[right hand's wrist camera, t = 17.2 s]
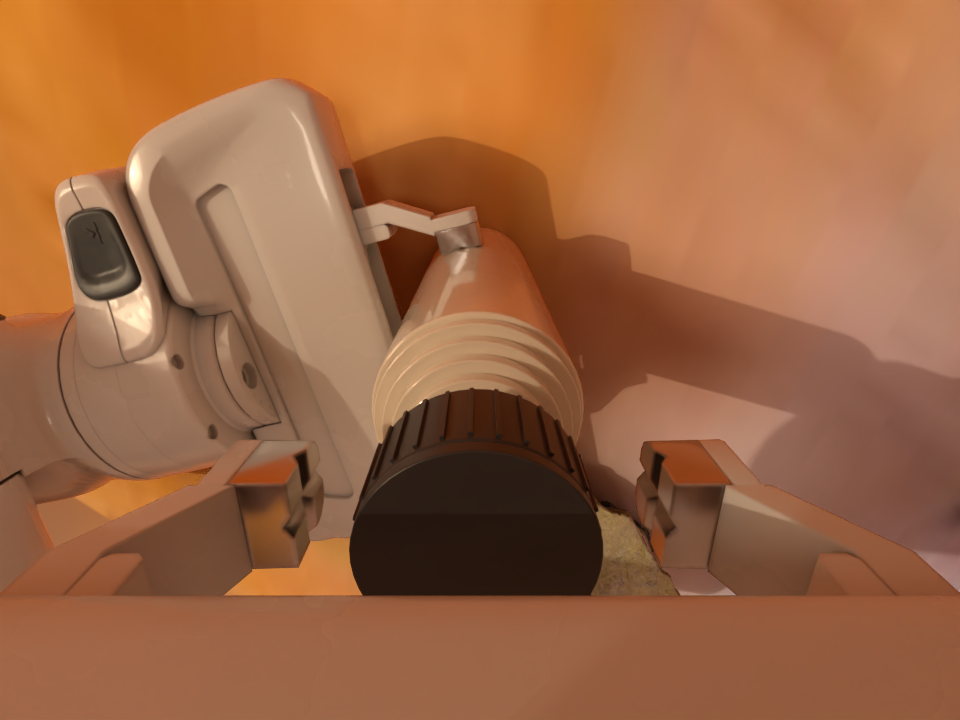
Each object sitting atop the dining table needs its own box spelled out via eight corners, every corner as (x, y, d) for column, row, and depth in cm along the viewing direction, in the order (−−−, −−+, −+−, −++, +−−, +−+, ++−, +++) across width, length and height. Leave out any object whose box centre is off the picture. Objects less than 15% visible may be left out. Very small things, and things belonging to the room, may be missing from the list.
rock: (510, 450, 33) (502, 588, 35) (521, 498, 26) (511, 661, 29) (675, 455, 33) (657, 590, 35) (724, 503, 27) (698, 663, 29)
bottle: (446, 212, 26) (360, 349, 7) (543, 246, 27) (693, 453, 8) (417, 307, 28) (289, 612, 9) (508, 337, 29) (563, 679, 10)
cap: (358, 541, 11) (330, 632, 9) (390, 363, 9) (365, 421, 7) (548, 576, 11) (564, 670, 9) (609, 409, 10) (644, 477, 8)
